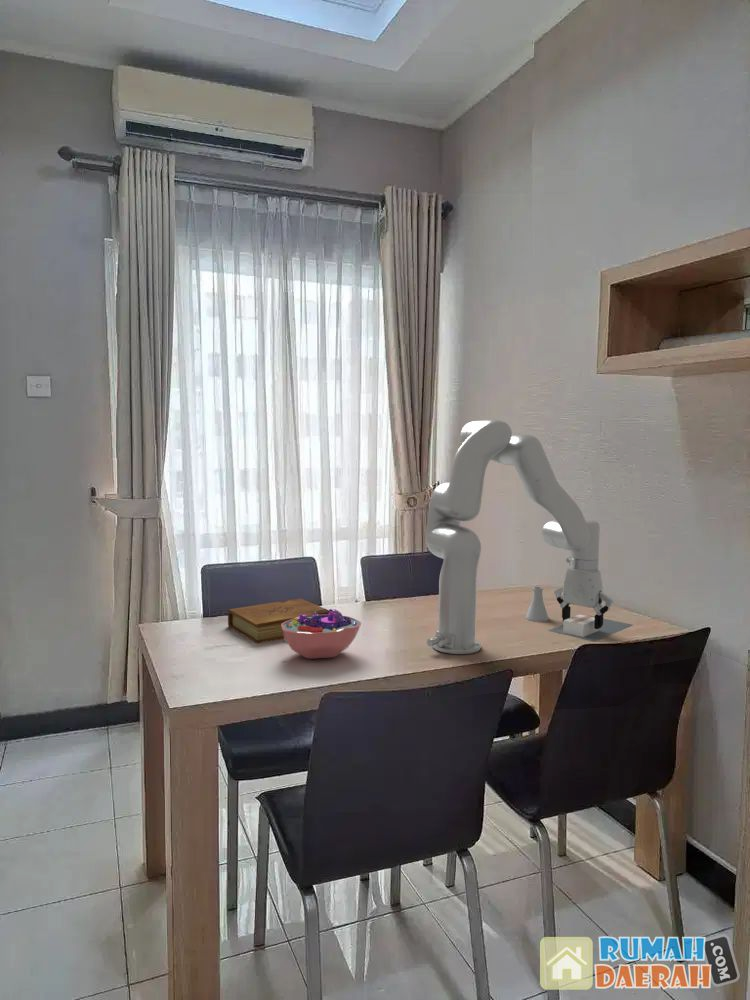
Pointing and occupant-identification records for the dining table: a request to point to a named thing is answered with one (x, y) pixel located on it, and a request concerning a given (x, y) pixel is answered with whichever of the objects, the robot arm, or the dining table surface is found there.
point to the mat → (605, 630)
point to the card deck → (579, 625)
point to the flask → (537, 607)
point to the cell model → (320, 634)
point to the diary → (269, 618)
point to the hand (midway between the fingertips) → (581, 624)
